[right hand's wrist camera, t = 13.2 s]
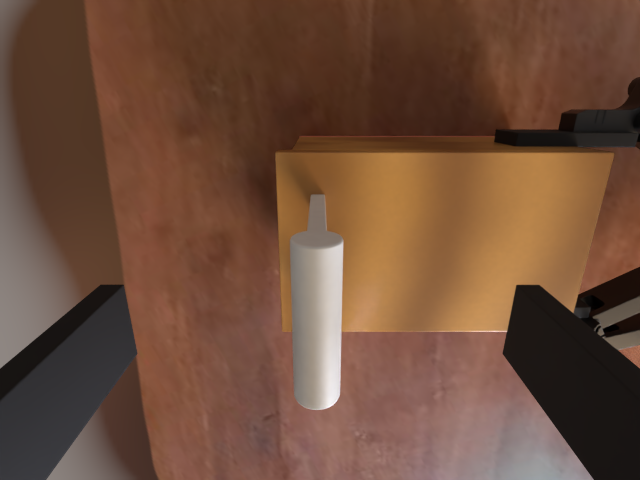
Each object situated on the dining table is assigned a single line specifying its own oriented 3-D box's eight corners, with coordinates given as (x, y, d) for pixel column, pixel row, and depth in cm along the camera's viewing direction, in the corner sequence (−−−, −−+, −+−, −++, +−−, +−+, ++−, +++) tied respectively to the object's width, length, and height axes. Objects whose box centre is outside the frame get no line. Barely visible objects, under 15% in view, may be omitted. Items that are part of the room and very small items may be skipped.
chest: (301, 262, 31) (294, 320, 22) (299, 135, 28) (290, 149, 19) (492, 262, 31) (556, 320, 22) (513, 135, 28) (598, 149, 19)
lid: (283, 320, 22) (262, 450, 14) (277, 149, 19) (243, 184, 11) (556, 321, 22) (699, 451, 14) (598, 149, 19) (818, 185, 11)
